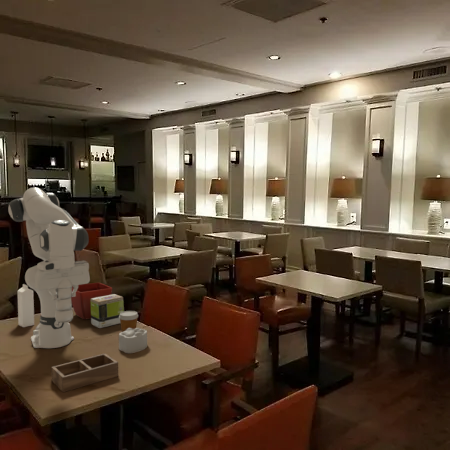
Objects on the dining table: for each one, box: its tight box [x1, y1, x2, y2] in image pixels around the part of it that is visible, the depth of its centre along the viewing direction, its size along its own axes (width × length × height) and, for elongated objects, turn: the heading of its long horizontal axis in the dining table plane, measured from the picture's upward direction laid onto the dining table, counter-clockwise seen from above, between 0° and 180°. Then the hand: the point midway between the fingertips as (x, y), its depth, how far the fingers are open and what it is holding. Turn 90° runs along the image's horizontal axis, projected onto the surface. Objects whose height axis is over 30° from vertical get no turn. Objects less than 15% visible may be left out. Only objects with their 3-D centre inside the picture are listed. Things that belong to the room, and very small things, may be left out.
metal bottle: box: [55, 272, 74, 323], centre depth 169 cm, size 6×7×20 cm
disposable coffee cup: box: [119, 310, 139, 332], centre depth 219 cm, size 10×10×12 cm
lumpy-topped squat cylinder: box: [118, 327, 148, 354], centre depth 205 cm, size 10×13×9 cm
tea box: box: [90, 293, 125, 329], centre depth 239 cm, size 15×10×15 cm, turn 133°
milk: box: [17, 283, 35, 328], centre depth 235 cm, size 6×6×22 cm
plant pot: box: [71, 282, 113, 320], centre depth 254 cm, size 19×19×17 cm
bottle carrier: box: [51, 353, 119, 393], centre depth 172 cm, size 12×22×6 cm, turn 131°
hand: (63, 298), depth 169 cm, fingers closed on metal bottle, 6 cm apart
